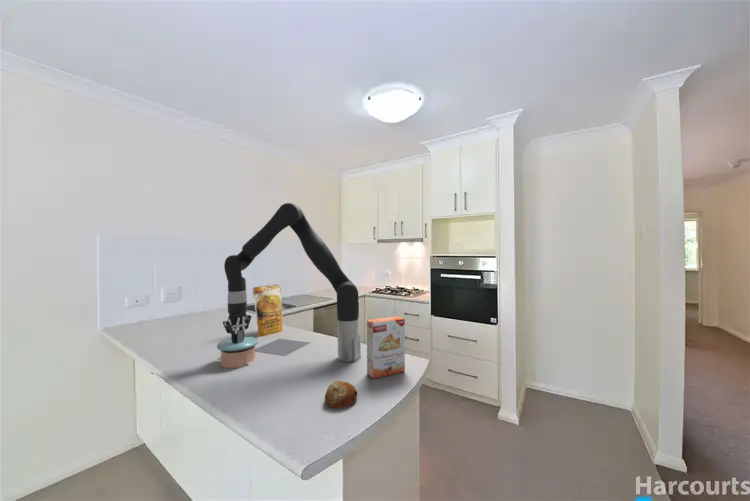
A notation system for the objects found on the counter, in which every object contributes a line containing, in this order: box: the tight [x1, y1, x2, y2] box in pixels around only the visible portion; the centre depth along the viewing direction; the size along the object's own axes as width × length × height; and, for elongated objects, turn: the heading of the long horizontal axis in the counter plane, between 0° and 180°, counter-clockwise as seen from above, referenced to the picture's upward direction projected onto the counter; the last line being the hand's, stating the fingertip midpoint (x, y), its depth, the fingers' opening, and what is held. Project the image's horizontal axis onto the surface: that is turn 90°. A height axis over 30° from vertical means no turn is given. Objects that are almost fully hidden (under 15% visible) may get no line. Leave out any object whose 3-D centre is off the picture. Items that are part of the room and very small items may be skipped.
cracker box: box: [366, 315, 406, 379], centre depth 115 cm, size 14×6×21 cm, turn 117°
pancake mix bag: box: [252, 284, 284, 339], centre depth 170 cm, size 7×19×28 cm, turn 141°
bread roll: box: [324, 380, 358, 410], centre depth 94 cm, size 10×10×8 cm
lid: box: [216, 329, 259, 352], centre depth 129 cm, size 16×16×6 cm
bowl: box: [220, 345, 256, 369], centre depth 129 cm, size 13×13×6 cm
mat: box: [255, 338, 311, 357], centre depth 146 cm, size 20×20×1 cm
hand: (238, 341), depth 129 cm, fingers closed on lid, 3 cm apart
